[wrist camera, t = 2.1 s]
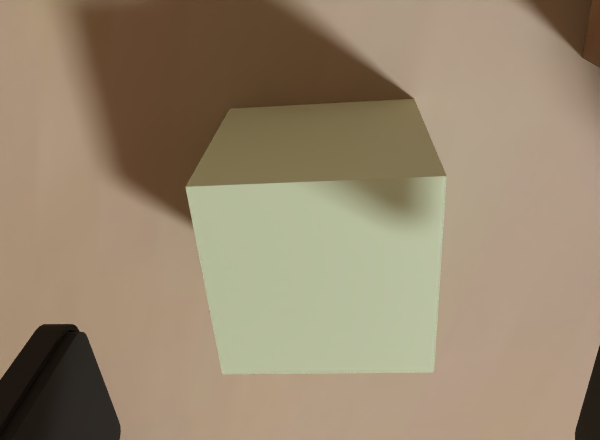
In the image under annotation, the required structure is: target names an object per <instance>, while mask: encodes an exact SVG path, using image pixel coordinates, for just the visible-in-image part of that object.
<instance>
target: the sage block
mask: <svg viewBox="0 0 600 440" xmlns="http://www.w3.org/2000/svg"><path fill="white" fill-rule="evenodd" d="M446 177H447V176H446V174H445V171H444V169H443V166H442V164H441V162H440V159H439V157H438V155H437V152H436V150H435V147H434V145H433V143H432V140H431V138H430V136H429V133H428V131H427V128H426V126H425V124H424V121H423V119H422V116H421V114H420V112H419V109H418V107H417V105H416V102H415V100H414V99H398V100H379V101H361V102H342V103H324V104H306V105H287V106H269V107H250V108H232V109H229V111H228V112H227V114H226V116H225V118H224V120H223V121H222V123H221V125H220V127H219V128H218V130H217V132H216V134H215V135H214V137H213V139H212V141H211V142H210V144H209V146H208V148H207V150H206V151H205V153H204V155H203V157H202V158H201V160H200V162H199V164H198V165H197V167H196V169H195V171H194V172H193V174H192V176H191V178H190V180H189V181H188V183H187V185H186V193H187V198H188V203H189V208H190V213H191V218H192V223H193V228H194V233H195V238H196V243H197V248H198V253H199V258H200V264H201V269H202V274H203V279H204V284H205V289H206V294H207V299H208V304H209V309H210V314H211V319H212V324H213V329H214V335H215V340H216V345H217V350H218V355H219V360H220V365H221V370H222V374H301V373H413V372H434V364H435V348H436V333H437V317H438V301H439V286H440V270H441V255H442V239H443V224H444V208H445V192H446Z"/></svg>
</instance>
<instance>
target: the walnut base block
mask: <svg viewBox="0 0 600 440" xmlns="http://www.w3.org/2000/svg"><path fill="white" fill-rule="evenodd" d="M582 58H584V59H586V60H588V61H589V62H591V63H593V64H595V65H596V66H598V67H600V0H592V3H591V9H590V14H589V20H588V26H587V31H586V37H585V43H584V49H583V54H582Z"/></svg>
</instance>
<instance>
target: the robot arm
mask: <svg viewBox="0 0 600 440" xmlns="http://www.w3.org/2000/svg"><path fill="white" fill-rule="evenodd" d="M120 432H121V430H120V423H119V420H118V418H117V415H116V412H115V410H114V407H113V404H112V402H111V399H110V396H109V394H108V391H107V388H106V386H105V383H104V380H103V378H102V375H101V372H100V370H99V367H98V364H97V362H96V359H95V356H94V354H93V351H92V348H91V346H90V343H89V340H88V338H87V336H86V334H85V333H84V332H79V330H78V328H77V327H76V326H75V325H73V324H44V325H41V326H40V327H39V328H38V329H37V330H36V331H35V332H34V334H33V335H32V336H31V338H30V339H29V341H28V342H27V343H26V345H25V346H24V348H23V349H22V350H21V352H20V353H19V355H18V356H17V357H16V359H15V360H14V362H13V363H12V364H11V366H10V367H9V369H8V370H7V371H6V373H5V374H4V376H3V377H2V378H1V380H0V440H119V439H120ZM575 440H600V346H599V350H598V353H597V357H596V360H595V364H594V367H593V371H592V374H591V378H590V381H589V385H588V388H587V392H586V395H585V399H584V402H583V406H582V409H581V413H580V416H579V420H578V423H577V427H576V431H575Z"/></svg>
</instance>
